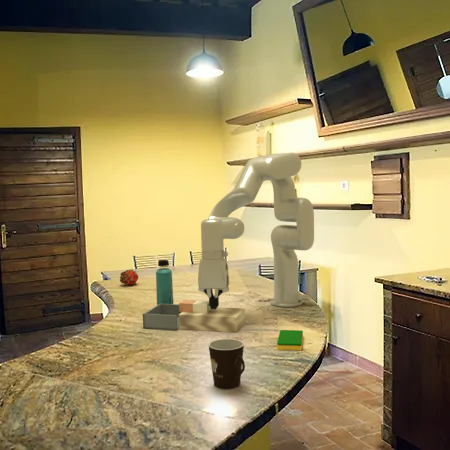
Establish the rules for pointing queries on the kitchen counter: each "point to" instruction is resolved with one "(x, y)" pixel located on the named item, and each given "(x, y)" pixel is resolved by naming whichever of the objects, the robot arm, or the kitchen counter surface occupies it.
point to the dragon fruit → (129, 277)
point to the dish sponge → (290, 340)
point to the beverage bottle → (164, 284)
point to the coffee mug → (227, 362)
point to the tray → (162, 317)
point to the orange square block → (186, 306)
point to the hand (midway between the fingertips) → (214, 308)
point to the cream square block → (201, 307)
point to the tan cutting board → (213, 320)
